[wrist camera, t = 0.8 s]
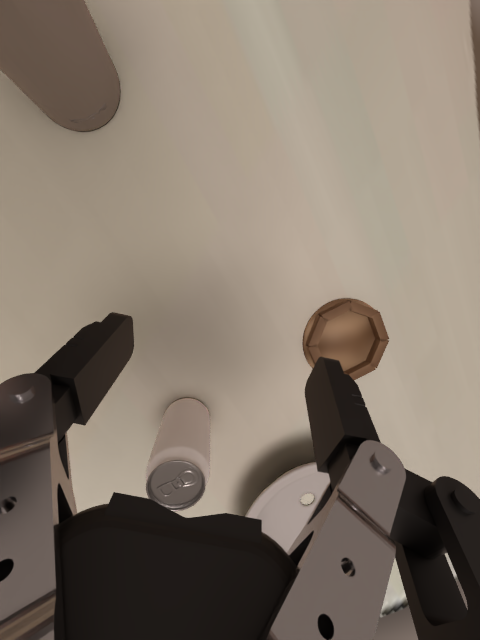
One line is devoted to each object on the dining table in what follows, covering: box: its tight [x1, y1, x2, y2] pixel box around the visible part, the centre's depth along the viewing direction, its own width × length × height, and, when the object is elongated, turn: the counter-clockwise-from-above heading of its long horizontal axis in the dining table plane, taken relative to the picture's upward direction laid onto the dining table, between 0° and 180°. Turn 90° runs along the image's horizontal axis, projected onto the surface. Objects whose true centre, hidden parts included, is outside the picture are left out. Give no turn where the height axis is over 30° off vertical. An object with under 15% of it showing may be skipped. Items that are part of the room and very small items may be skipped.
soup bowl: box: [245, 462, 395, 559], centre depth 38 cm, size 24×24×7 cm
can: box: [146, 398, 210, 511], centre depth 30 cm, size 6×6×12 cm
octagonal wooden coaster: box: [303, 299, 389, 380], centre depth 36 cm, size 12×12×2 cm
